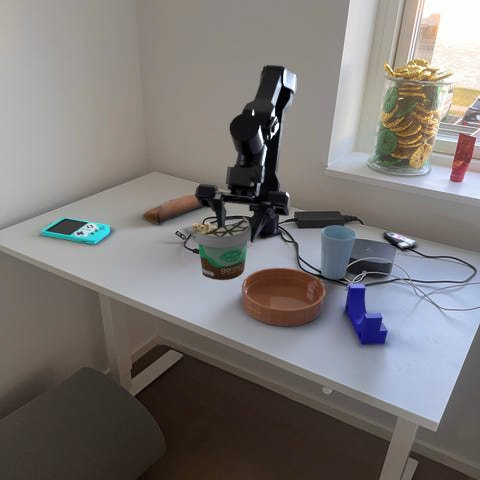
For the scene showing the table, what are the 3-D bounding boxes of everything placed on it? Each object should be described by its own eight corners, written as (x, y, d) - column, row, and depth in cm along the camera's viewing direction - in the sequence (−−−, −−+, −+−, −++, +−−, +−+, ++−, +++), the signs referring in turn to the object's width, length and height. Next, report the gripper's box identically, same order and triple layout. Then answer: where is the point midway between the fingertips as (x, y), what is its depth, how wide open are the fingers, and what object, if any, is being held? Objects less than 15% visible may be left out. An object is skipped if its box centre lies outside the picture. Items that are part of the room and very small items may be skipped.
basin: (289, 276, 114) (290, 260, 112) (340, 311, 102) (342, 294, 100) (226, 296, 106) (226, 280, 104) (273, 337, 94) (274, 319, 92)
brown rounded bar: (187, 198, 151) (194, 183, 146) (201, 215, 150) (209, 200, 144) (140, 215, 140) (146, 199, 135) (155, 233, 139) (161, 217, 133)
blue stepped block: (384, 343, 93) (390, 317, 90) (361, 344, 93) (366, 318, 90) (366, 308, 103) (370, 283, 100) (344, 309, 103) (349, 284, 99)
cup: (341, 264, 119) (347, 223, 113) (355, 279, 113) (363, 237, 107) (311, 268, 117) (316, 227, 112) (325, 284, 111) (330, 241, 105)
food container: (214, 290, 96) (213, 244, 90) (196, 277, 100) (194, 232, 94) (263, 270, 102) (265, 226, 96) (244, 258, 106) (245, 215, 100)
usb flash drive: (382, 235, 133) (383, 231, 132) (399, 233, 134) (400, 229, 134) (400, 249, 126) (401, 245, 126) (418, 246, 128) (419, 243, 127)
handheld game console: (93, 245, 125) (93, 240, 124) (40, 235, 129) (39, 230, 128) (114, 229, 133) (113, 224, 132) (63, 220, 137) (62, 216, 136)
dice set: (192, 230, 133) (191, 223, 132) (209, 227, 136) (209, 220, 134) (200, 237, 130) (200, 231, 129) (217, 234, 132) (217, 227, 131)
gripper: (196, 142, 95) (180, 219, 93) (292, 151, 92) (278, 231, 89) (208, 170, 106) (194, 239, 103) (295, 178, 102) (283, 250, 100)
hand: (235, 240), depth 99 cm, fingers closed on food container, 6 cm apart
